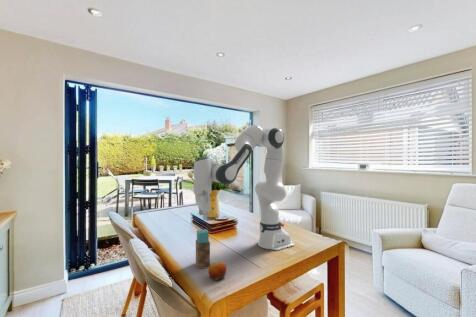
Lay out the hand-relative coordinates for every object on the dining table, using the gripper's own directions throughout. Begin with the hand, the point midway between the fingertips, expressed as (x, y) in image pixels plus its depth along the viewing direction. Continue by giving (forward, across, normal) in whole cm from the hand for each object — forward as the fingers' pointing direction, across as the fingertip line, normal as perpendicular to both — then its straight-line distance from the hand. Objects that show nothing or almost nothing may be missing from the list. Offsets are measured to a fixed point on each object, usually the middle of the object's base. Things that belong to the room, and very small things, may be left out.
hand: (202, 217), depth 115 cm
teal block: (+12, 0, 0) cm, 12 cm away
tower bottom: (+24, 0, 0) cm, 24 cm away
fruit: (+24, -14, -4) cm, 28 cm away
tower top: (+18, 0, 0) cm, 18 cm away
